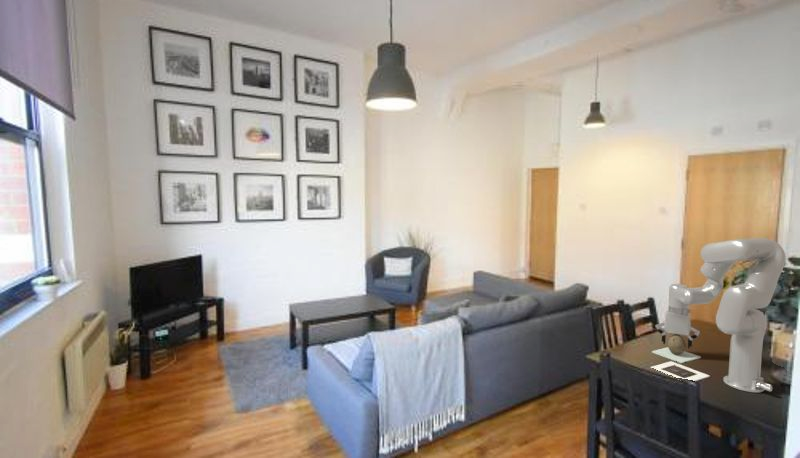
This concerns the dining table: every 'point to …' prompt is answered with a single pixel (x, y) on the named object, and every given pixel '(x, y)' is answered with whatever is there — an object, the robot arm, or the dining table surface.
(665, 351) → the sage mat
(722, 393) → the dining table surface
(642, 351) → the dining table surface
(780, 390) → the dining table surface
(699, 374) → the white square frame
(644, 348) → the dining table surface
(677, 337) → the decorative egg
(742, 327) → the robot arm
